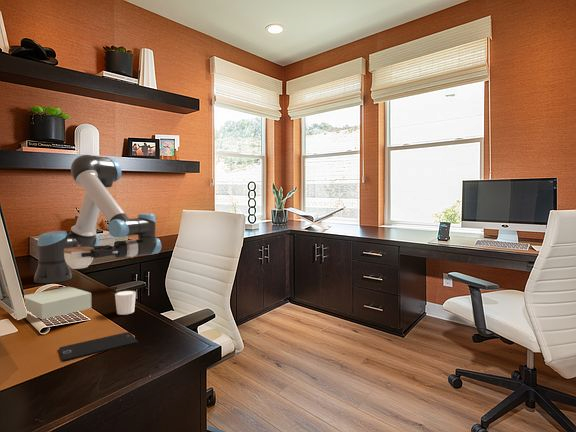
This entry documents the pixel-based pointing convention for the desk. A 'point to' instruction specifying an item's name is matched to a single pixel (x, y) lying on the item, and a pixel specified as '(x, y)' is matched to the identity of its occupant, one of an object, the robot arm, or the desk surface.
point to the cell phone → (96, 346)
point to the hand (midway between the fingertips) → (67, 253)
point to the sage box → (57, 302)
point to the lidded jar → (77, 262)
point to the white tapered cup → (125, 302)
